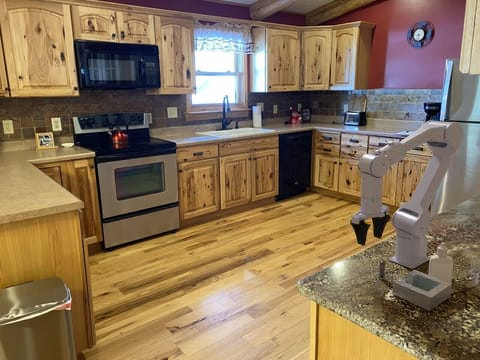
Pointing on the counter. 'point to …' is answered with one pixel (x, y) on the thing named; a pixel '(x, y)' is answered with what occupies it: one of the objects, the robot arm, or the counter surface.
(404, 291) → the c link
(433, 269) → the eye dropper bottle
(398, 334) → the counter surface
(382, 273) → the pin
